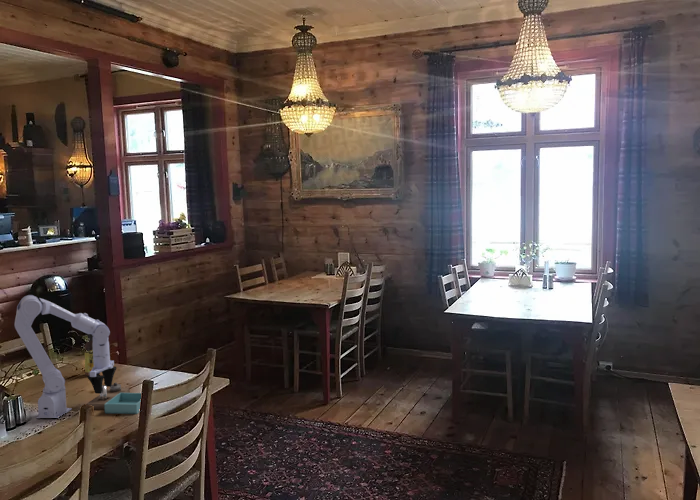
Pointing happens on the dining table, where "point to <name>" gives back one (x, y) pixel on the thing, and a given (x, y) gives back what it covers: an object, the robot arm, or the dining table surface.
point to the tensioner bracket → (108, 396)
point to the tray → (124, 404)
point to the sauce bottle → (89, 356)
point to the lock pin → (103, 393)
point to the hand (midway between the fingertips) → (103, 389)
